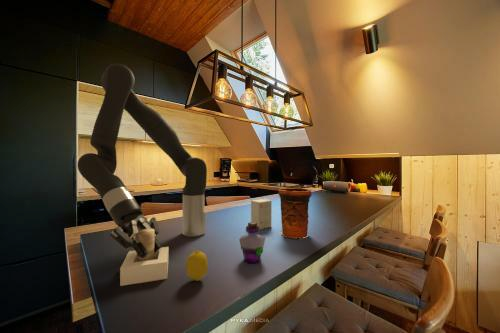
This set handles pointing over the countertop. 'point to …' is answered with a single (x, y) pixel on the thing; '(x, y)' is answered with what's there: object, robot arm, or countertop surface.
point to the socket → (144, 268)
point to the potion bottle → (252, 244)
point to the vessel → (294, 211)
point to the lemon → (197, 265)
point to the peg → (147, 243)
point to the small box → (261, 213)
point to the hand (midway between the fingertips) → (151, 252)
